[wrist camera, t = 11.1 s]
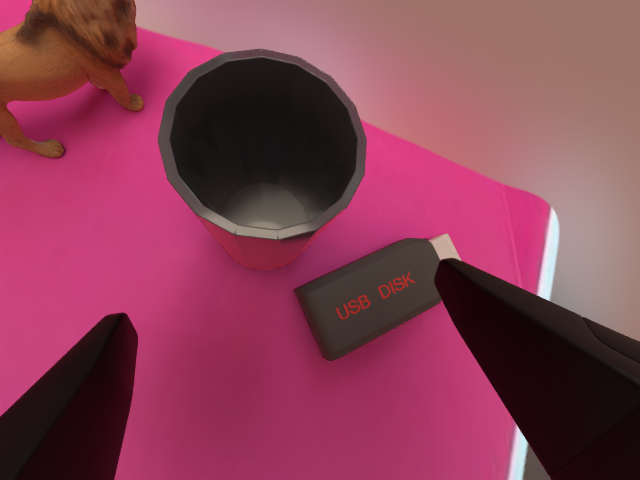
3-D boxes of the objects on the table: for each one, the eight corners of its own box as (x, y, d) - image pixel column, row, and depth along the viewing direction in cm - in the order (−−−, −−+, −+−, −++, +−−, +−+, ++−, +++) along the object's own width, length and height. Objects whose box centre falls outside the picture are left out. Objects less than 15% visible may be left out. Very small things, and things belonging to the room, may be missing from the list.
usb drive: (293, 289, 21) (297, 288, 19) (427, 227, 24) (447, 218, 22) (323, 357, 21) (332, 366, 18) (456, 285, 24) (480, 285, 21)
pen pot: (305, 274, 22) (360, 250, 10) (210, 265, 21) (139, 223, 9) (313, 188, 23) (370, 72, 11) (224, 174, 22) (180, 29, 10)
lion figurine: (135, 32, 23) (57, -132, 14) (186, 81, 23) (141, -52, 14) (-57, 154, 19) (-329, 32, 10) (6, 212, 19) (-211, 141, 10)
